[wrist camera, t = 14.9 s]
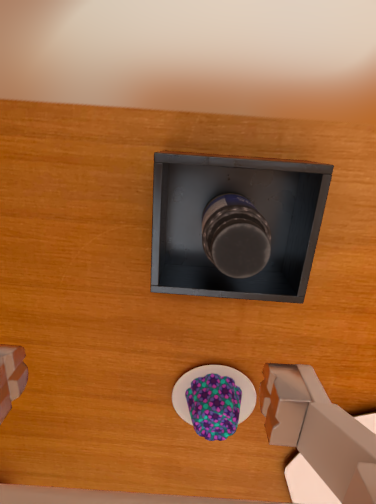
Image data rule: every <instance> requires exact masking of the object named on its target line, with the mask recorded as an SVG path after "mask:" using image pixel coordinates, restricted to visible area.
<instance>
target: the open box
mask: <svg viewBox="0 0 376 504" xmlns="http://www.w3.org/2000/svg"><path fill="white" fill-rule="evenodd" d="M333 167H334V165H330V164H324V163H318V162H312V161H303V160H289V159H275V158H261V157H247V156H233V155H218V154H204V153H190V152H176V151H160V152H155V153H154V179H153V217H152V255H151V292H155V293H168V294H182V295H195V296H209V297H222V298H235V299H249V300H262V301H276V302H289V303H303V302H304V298H305V293H306V289H307V284H308V280H309V276H310V271H311V267H312V262H313V258H314V253H315V249H316V244H317V240H318V235H319V231H320V226H321V222H322V217H323V213H324V208H325V204H326V199H327V195H328V190H329V186H330V181H331V177H332V175H331V174H332V172H333ZM224 193H233V194H240V195H242V196H244V197H245V198H247V199H248V200H249V201H250V202H251V203H252V204H253V205H254V206H255V208H256V209H257V210H258V211H259V212H260V213H261V215H262V216H263V217H264V218H265V220H266V221H267V223H268V225H269V227H270V231H271V244H270V246H271V253H270V257H269V260H268V262H267V264H266V265H265V267H264V268H263V269H262V270H261V271H260V272H258V273H257V274H255V275H253V276H251V277H247V278H232V277H229V276H227V275H225V274H223V273H222V272H221V271H220V270H218V268H217V267H216V266H215V265H214V264H213V263H212V262H211V261H210V260H209V259H208V257H207V256H206V254H205V252H204V249H203V245H202V215H203V211H204V209H205V207H206V205H207V204H208V203H209V202H210V201H211V200H212V199H213V198H215V197H216V196H218V195H221V194H224Z"/></svg>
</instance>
